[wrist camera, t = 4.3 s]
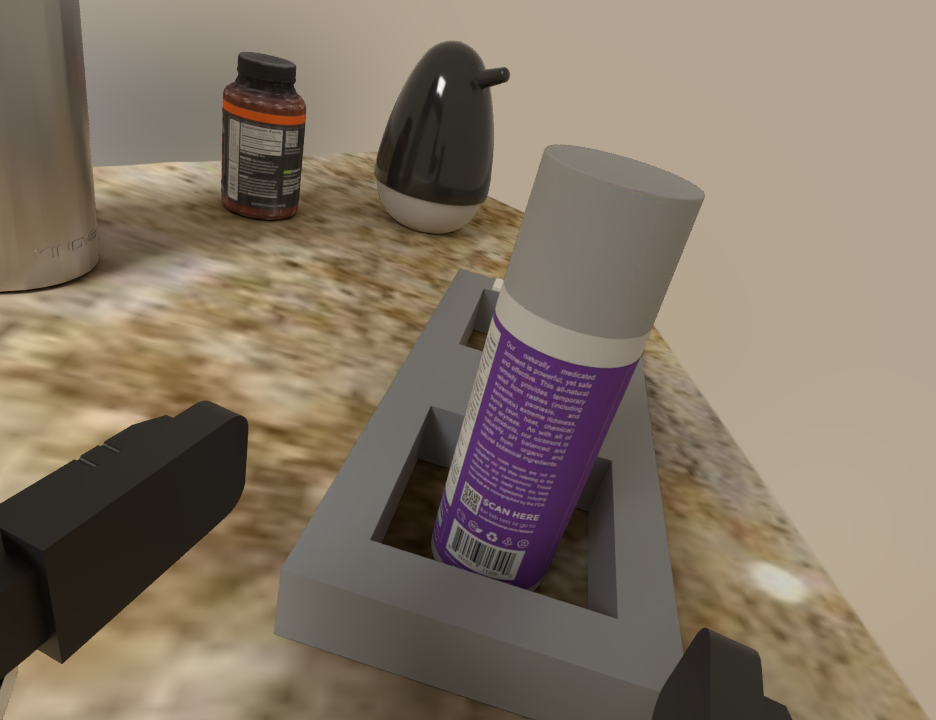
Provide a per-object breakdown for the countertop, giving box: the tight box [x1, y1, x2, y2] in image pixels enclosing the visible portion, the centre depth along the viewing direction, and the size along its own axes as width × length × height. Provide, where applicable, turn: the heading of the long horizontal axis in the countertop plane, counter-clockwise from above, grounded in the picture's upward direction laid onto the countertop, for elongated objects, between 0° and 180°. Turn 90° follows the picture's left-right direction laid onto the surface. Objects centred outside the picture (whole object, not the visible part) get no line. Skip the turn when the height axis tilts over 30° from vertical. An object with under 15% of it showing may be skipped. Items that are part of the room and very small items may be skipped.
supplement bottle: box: [221, 52, 306, 220], centre depth 46 cm, size 6×6×11 cm
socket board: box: [274, 269, 684, 720], centre depth 29 cm, size 12×26×3 cm, turn 169°
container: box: [431, 145, 705, 592], centre depth 20 cm, size 5×5×15 cm
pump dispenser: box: [374, 41, 510, 234], centre depth 52 cm, size 10×10×15 cm
